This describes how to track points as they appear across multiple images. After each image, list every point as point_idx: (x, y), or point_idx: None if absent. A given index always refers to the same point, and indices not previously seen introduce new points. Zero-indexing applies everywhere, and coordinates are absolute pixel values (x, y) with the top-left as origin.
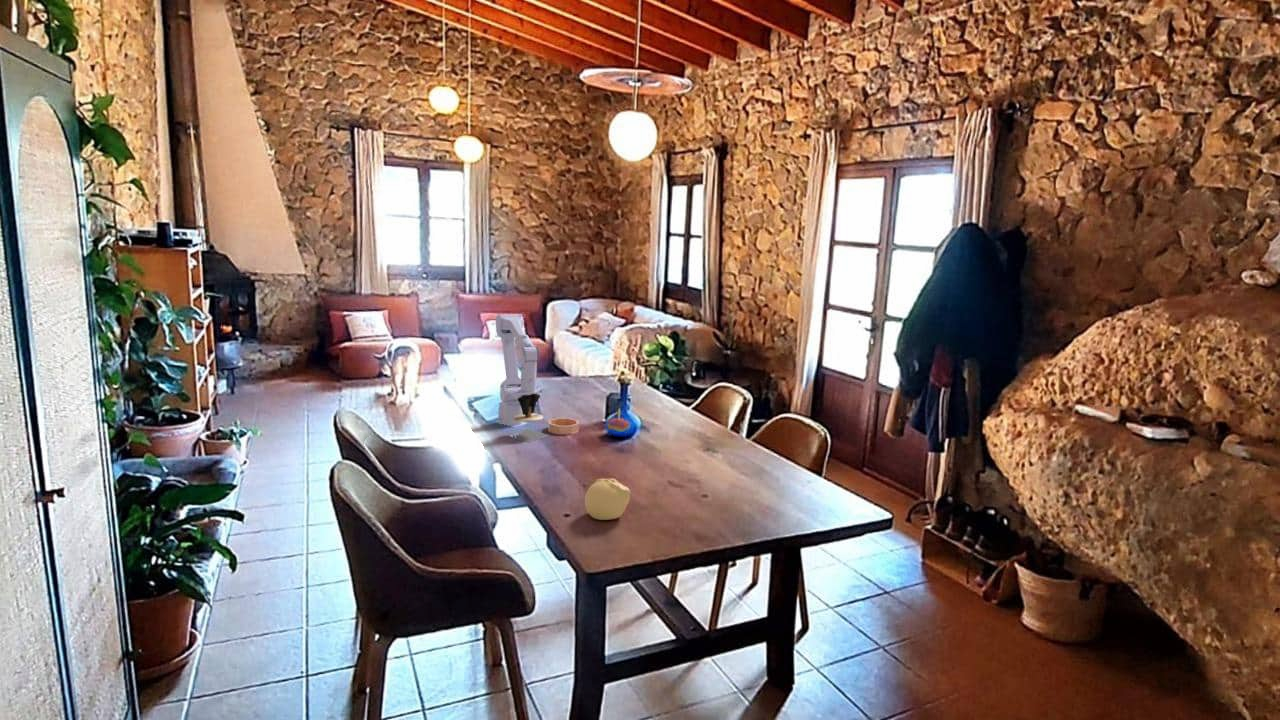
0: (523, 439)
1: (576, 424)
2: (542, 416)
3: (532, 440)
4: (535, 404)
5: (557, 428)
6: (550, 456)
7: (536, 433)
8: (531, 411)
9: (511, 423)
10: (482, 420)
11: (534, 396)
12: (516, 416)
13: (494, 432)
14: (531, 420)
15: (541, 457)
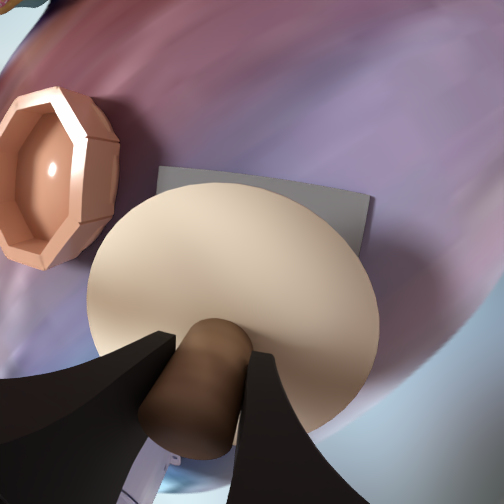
0: None
1: (27, 95)
2: (120, 224)
3: (322, 194)
4: (80, 370)
5: (96, 148)
6: (448, 11)
7: None
8: (166, 357)
9: None
10: (186, 492)
11: (17, 490)
12: None
13: None
14: (337, 234)
15: (481, 42)
